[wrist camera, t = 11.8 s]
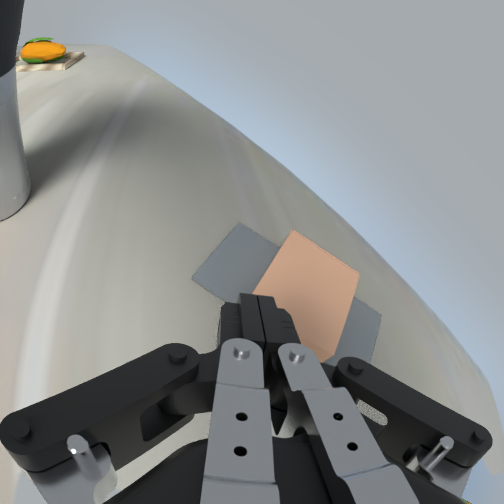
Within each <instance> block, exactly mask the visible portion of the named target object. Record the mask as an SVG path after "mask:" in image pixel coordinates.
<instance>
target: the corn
mask: <svg viewBox="0 0 504 504" xmlns="http://www.w3.org/2000/svg"><path fill="white" fill-rule="evenodd" d="M43 39H44V40H43ZM46 39H47V40H46ZM51 39H52V38H35V39H32V40H30V41H28V42H26V44H25V45H24V46H23V49H22V51H21V52H20V53H21V55H20V56H21V58H22V59H23V60H24V61H26V62H28V63H43V62H49V61H56V60H60V59H62V58H64V55H63V54H65V52H66V48H65V47H64V46H63V45H61V44H58V43H53V42H51V41H48V40H51ZM35 40H39V41H36V42H33V41H35Z"/></svg>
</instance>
